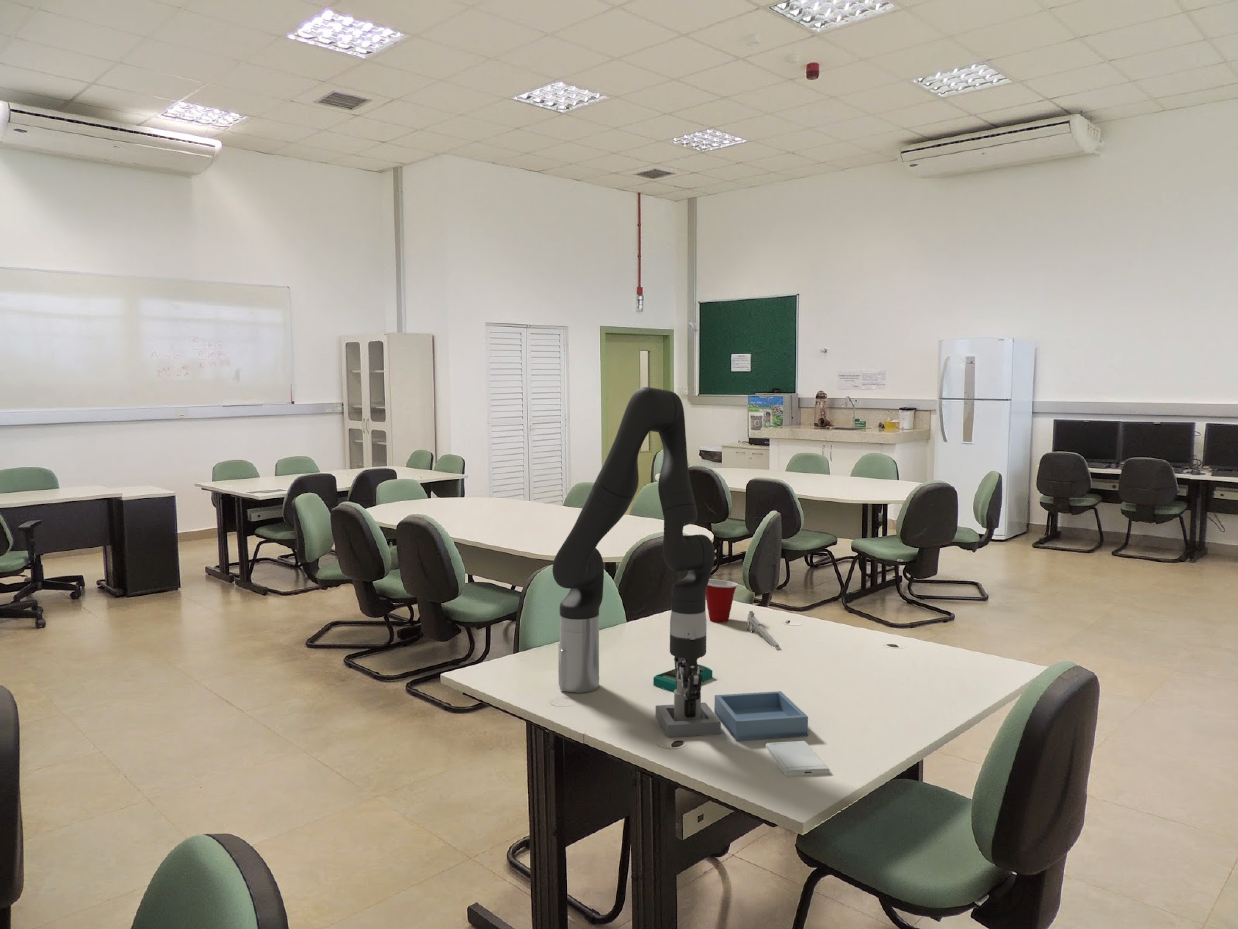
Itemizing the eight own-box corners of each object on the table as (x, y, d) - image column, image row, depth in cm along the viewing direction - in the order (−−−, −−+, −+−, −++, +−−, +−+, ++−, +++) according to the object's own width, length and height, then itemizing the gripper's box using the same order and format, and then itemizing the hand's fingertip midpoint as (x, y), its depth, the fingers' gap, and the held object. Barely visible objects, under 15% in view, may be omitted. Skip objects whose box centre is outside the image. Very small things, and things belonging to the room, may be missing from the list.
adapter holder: (667, 737, 170) (667, 725, 169) (655, 717, 180) (655, 705, 180) (720, 733, 172) (720, 721, 171) (705, 713, 182) (705, 702, 182)
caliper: (746, 631, 248) (747, 610, 248) (750, 630, 248) (750, 609, 248) (777, 651, 228) (777, 628, 228) (781, 651, 229) (781, 628, 228)
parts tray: (736, 741, 168) (736, 721, 168) (714, 713, 183) (714, 695, 182) (807, 736, 171) (808, 716, 170) (780, 709, 185) (780, 691, 185)
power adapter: (700, 728, 174) (701, 671, 173) (674, 728, 174) (675, 671, 174) (699, 722, 178) (700, 666, 177) (673, 722, 178) (674, 666, 177)
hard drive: (765, 742, 165) (786, 770, 153) (805, 740, 166) (829, 767, 154) (765, 751, 165) (786, 779, 153) (805, 748, 166) (829, 776, 154)
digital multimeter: (714, 679, 206) (714, 667, 206) (676, 694, 195) (676, 682, 195) (690, 672, 211) (690, 661, 211) (651, 687, 200) (651, 674, 200)
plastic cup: (744, 621, 257) (745, 582, 256) (716, 626, 252) (717, 586, 251) (722, 613, 266) (722, 576, 265) (694, 618, 261) (695, 580, 260)
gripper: (662, 623, 181) (661, 702, 182) (678, 642, 167) (678, 727, 168) (696, 621, 182) (695, 700, 183) (715, 640, 168) (714, 725, 170)
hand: (687, 712), depth 176 cm, fingers open, 3 cm apart
